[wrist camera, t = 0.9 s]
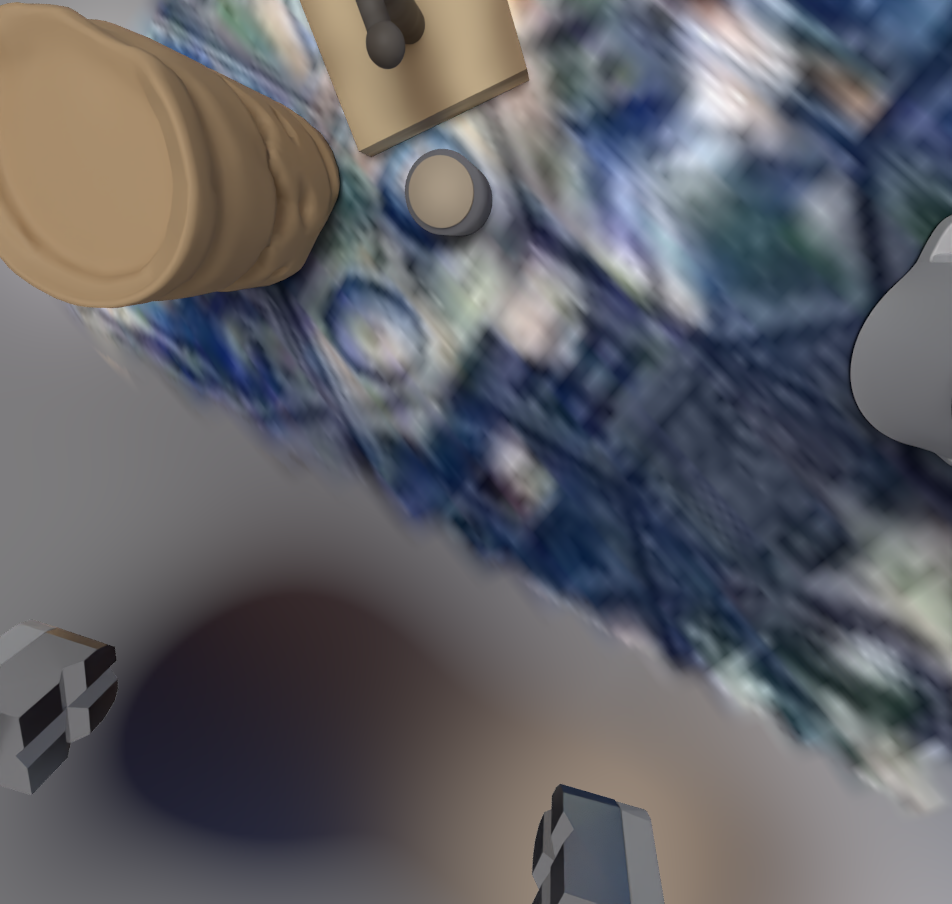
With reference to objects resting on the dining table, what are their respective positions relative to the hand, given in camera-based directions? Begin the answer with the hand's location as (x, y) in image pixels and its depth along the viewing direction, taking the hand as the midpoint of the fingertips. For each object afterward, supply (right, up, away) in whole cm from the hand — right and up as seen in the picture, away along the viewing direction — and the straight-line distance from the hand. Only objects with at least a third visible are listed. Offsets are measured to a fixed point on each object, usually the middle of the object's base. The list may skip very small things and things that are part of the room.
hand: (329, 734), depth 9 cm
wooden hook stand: (-2, +35, +25) cm, 43 cm away
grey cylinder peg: (+1, +23, +29) cm, 37 cm away
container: (-13, +25, +31) cm, 42 cm away
